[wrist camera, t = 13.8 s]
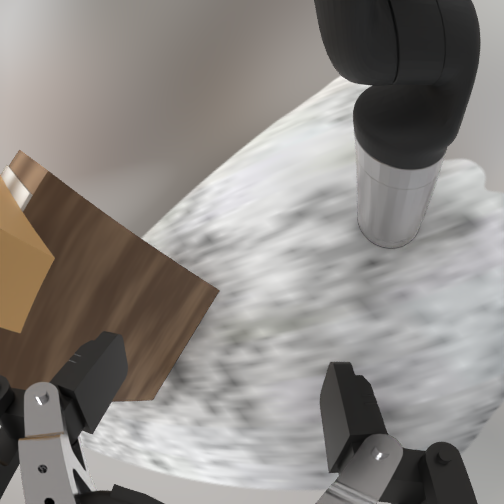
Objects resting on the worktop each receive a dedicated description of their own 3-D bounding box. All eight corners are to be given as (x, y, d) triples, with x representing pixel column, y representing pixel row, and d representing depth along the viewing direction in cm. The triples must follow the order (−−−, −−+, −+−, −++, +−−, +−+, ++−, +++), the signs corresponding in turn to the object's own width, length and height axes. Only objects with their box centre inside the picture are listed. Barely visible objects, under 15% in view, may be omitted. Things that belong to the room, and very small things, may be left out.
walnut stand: (108, 354, 44) (-63, 306, 17) (165, 256, 48) (10, 142, 20) (152, 400, 39) (-53, 383, 11) (219, 290, 42) (33, 159, 15)
